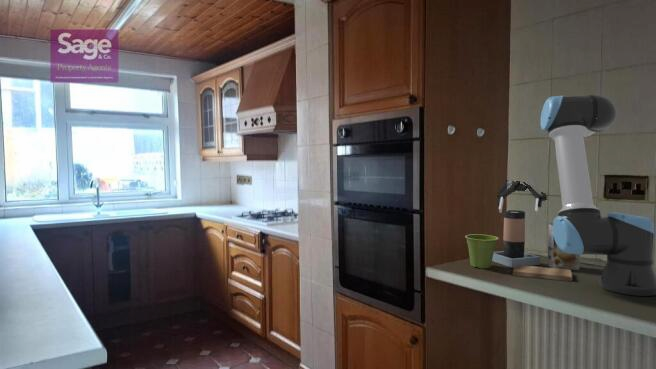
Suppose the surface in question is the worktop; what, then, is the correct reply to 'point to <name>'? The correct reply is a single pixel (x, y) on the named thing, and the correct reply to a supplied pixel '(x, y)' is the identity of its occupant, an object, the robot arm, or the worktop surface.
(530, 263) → the holder frame
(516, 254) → the travel mug
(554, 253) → the coffee box
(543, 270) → the walnut board
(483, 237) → the plant pot
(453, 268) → the worktop surface
